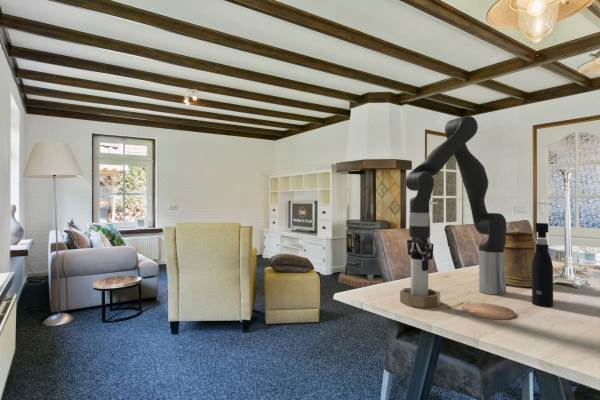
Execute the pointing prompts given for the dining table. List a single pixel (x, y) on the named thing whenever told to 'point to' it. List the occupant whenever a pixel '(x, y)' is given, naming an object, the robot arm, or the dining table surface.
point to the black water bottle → (542, 270)
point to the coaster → (488, 311)
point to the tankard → (519, 257)
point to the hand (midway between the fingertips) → (419, 268)
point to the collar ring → (420, 299)
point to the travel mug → (418, 275)
